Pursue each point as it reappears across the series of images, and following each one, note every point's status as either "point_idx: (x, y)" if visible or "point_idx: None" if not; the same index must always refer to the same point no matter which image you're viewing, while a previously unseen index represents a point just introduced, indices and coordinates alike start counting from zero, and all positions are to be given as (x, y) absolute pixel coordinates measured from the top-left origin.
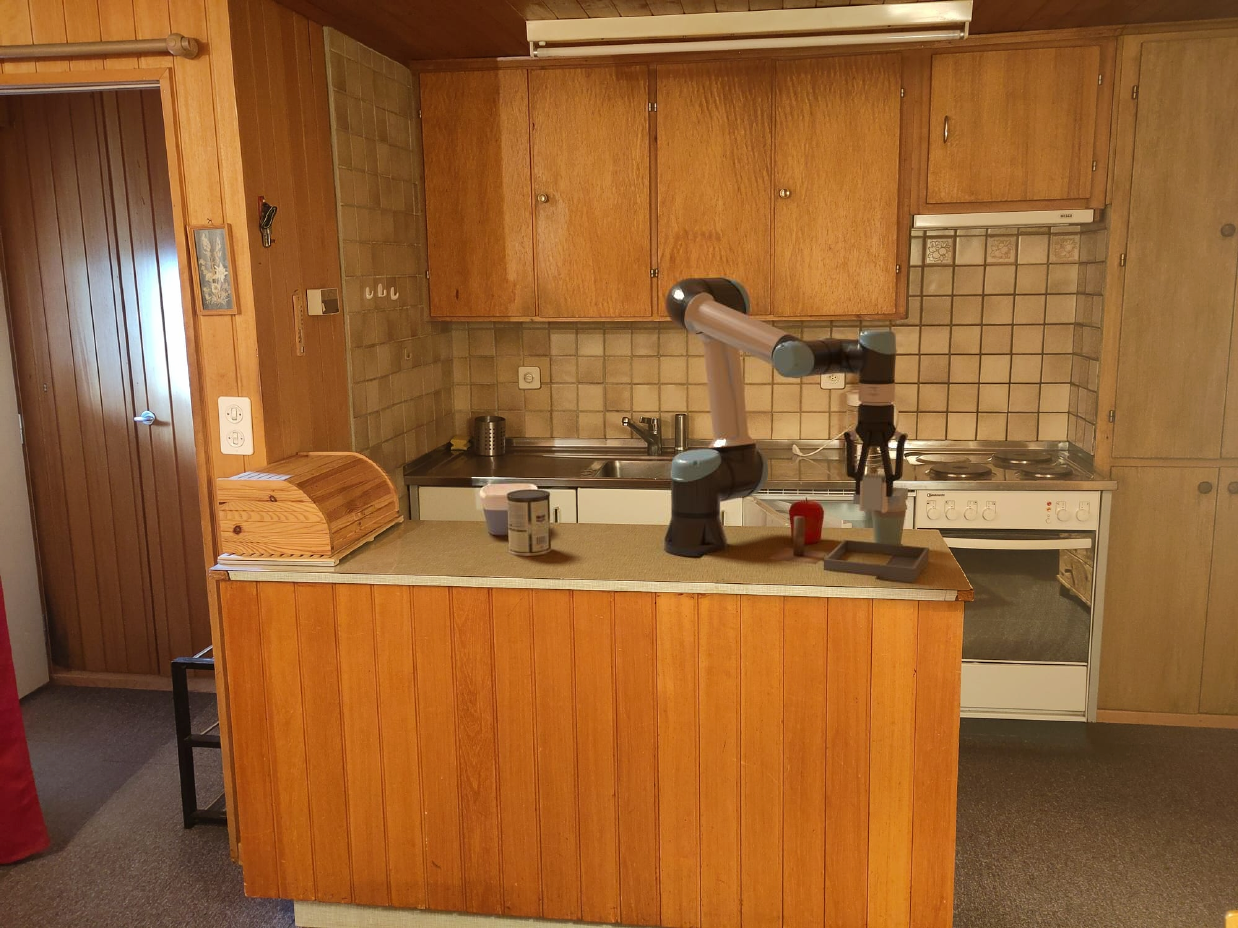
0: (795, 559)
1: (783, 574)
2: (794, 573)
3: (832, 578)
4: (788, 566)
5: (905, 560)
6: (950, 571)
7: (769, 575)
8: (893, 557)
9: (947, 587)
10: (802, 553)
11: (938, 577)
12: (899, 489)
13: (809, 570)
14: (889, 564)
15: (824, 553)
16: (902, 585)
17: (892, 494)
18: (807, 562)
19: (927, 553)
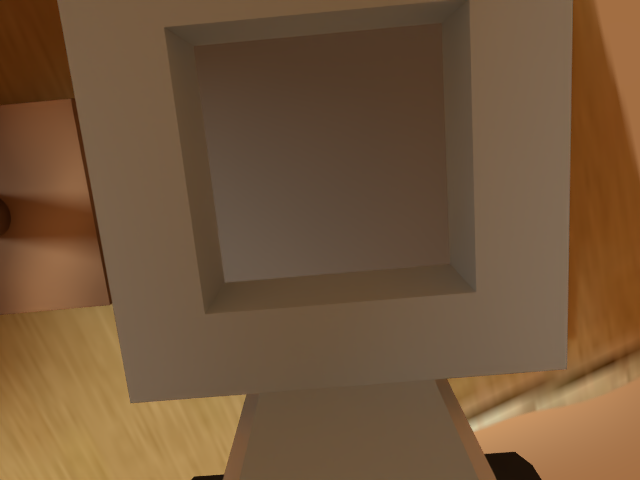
0: (11, 284)
1: (59, 441)
2: (86, 413)
3: (230, 409)
4: (21, 338)
5: (420, 59)
6: (615, 104)
7: (24, 473)
8: (359, 32)
9: (628, 331)
10: (2, 225)
11: (581, 217)
12: (495, 1)
13: (115, 352)
14: (373, 160)
15: (68, 130)
16: (476, 379)
17: (526, 467)
18: (73, 304)
19: None
